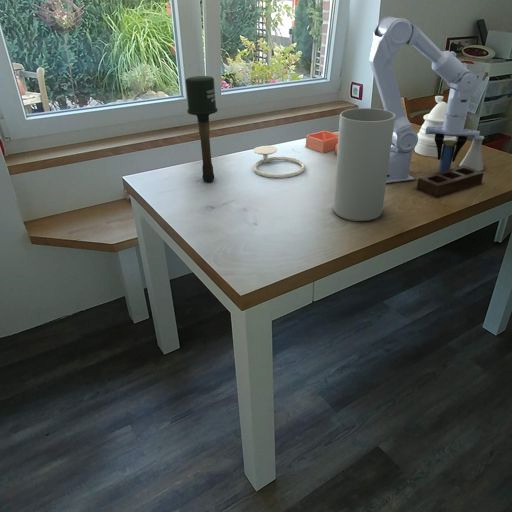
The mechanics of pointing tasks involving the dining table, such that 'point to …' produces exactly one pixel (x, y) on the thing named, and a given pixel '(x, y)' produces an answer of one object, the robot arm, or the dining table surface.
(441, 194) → the holder
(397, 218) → the dining table surface
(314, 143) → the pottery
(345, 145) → the cylinder vase
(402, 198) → the dining table surface
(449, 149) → the capped tube
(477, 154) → the flask
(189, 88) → the stick grenade
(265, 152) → the hand towel holder
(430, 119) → the honey pot
